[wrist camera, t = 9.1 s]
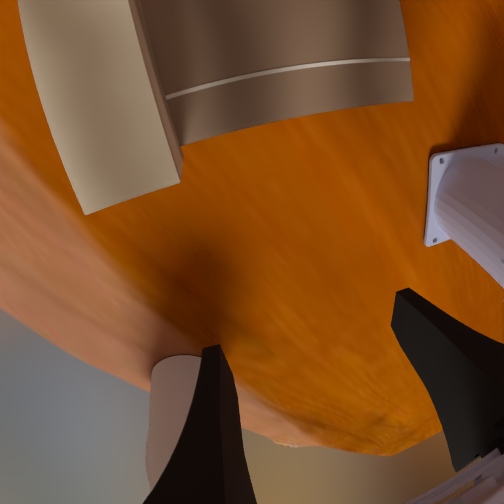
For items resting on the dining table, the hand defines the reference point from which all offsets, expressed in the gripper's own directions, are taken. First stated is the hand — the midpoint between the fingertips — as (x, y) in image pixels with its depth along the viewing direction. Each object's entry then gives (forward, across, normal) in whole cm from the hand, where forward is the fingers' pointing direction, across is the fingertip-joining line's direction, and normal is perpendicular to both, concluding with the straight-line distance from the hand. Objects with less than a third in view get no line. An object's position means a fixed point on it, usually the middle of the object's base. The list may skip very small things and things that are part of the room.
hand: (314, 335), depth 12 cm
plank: (+10, 0, -11) cm, 15 cm away
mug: (+10, +11, +14) cm, 21 cm away
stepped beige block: (+9, +6, -12) cm, 16 cm away
